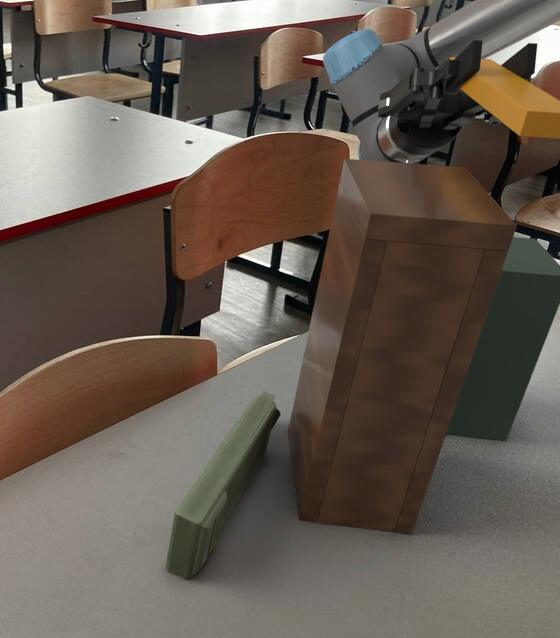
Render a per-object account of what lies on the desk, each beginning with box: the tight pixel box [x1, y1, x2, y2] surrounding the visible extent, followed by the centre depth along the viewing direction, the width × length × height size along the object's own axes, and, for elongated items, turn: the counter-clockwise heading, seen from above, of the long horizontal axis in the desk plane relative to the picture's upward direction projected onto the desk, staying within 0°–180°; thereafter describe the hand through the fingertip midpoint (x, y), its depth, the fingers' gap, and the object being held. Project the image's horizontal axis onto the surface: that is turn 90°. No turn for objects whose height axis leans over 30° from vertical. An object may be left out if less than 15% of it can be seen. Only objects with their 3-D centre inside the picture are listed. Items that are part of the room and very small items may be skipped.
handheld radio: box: [165, 390, 282, 580], centre depth 71 cm, size 7×3×25 cm
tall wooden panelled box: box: [287, 158, 518, 535], centre depth 67 cm, size 10×13×30 cm
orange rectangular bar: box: [450, 57, 560, 140], centre depth 68 cm, size 4×22×2 cm, turn 171°
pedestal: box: [446, 236, 560, 442], centre depth 80 cm, size 10×9×20 cm
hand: (503, 56), depth 69 cm, fingers closed on orange rectangular bar, 4 cm apart
